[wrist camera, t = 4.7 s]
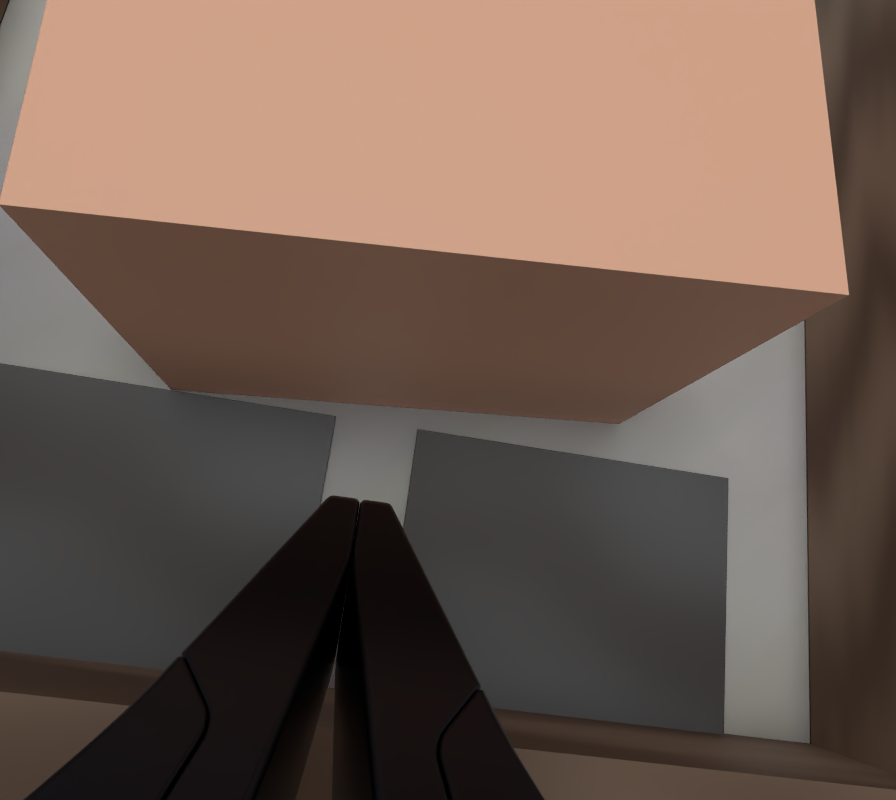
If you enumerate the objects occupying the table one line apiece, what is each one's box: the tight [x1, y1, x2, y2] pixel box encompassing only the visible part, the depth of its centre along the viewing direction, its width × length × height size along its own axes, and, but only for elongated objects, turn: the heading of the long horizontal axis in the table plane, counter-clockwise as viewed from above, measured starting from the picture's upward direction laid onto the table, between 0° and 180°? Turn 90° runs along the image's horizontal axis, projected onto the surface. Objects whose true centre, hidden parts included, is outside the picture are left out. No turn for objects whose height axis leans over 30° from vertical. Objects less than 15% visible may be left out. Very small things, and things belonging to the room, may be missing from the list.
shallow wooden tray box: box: [0, 0, 896, 800], centre depth 17 cm, size 36×26×4 cm
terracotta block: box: [0, 0, 849, 424], centre depth 15 cm, size 14×11×8 cm
